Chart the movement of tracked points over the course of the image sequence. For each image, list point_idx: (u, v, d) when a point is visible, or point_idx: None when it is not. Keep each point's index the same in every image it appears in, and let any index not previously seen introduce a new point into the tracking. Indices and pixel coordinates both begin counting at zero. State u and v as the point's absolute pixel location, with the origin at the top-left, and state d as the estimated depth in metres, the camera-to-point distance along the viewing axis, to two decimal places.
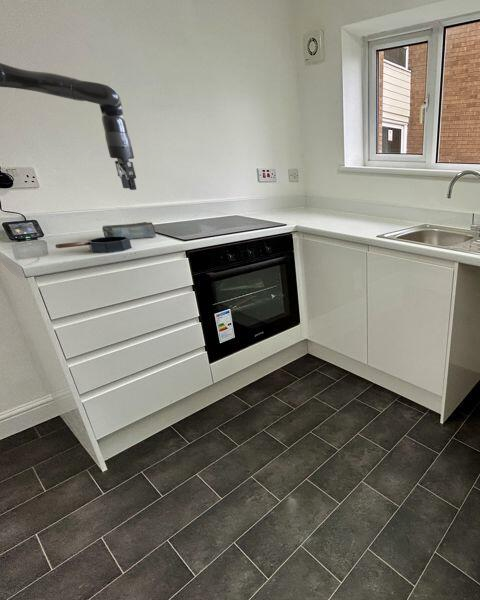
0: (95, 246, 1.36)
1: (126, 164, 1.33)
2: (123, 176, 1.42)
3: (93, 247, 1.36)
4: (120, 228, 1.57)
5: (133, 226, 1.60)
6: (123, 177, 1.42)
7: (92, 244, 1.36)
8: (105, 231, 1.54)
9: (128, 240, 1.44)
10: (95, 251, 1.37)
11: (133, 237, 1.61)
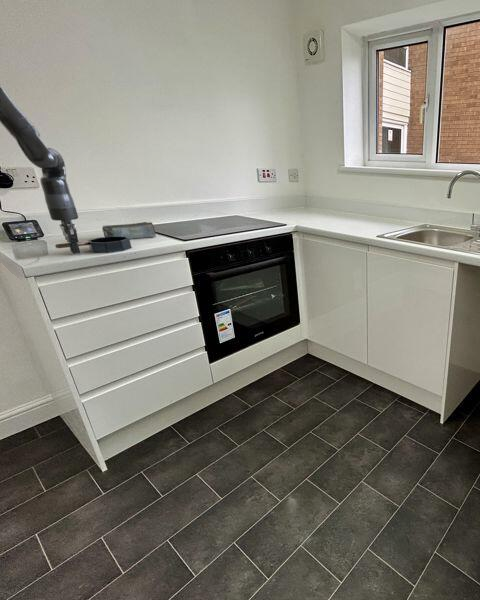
0: (95, 246, 1.36)
1: (69, 232, 1.28)
2: None
3: (93, 247, 1.36)
4: (120, 228, 1.57)
5: (133, 226, 1.60)
6: None
7: (92, 244, 1.36)
8: (105, 231, 1.54)
9: (128, 240, 1.44)
10: (95, 251, 1.37)
11: (133, 237, 1.61)
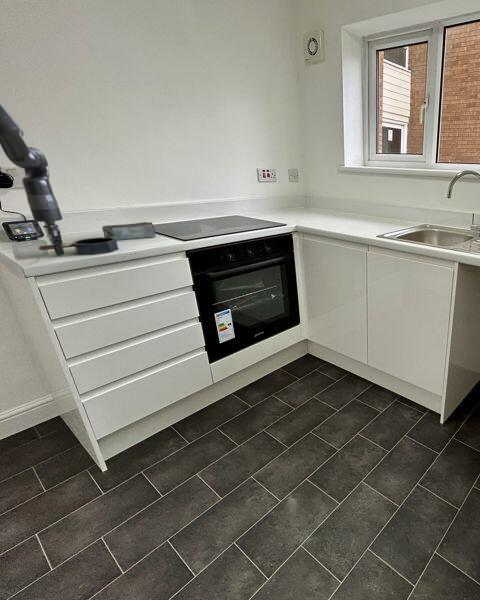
0: (80, 248, 1.33)
1: (52, 234, 1.24)
2: None
3: (78, 249, 1.33)
4: (120, 228, 1.57)
5: (133, 226, 1.60)
6: None
7: (77, 246, 1.33)
8: (105, 231, 1.54)
9: (115, 241, 1.41)
10: (80, 253, 1.34)
11: (133, 237, 1.61)
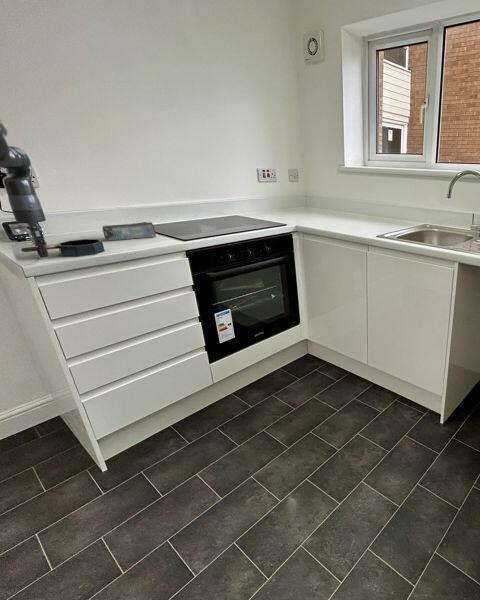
0: (64, 250, 1.30)
1: (34, 234, 1.21)
2: (37, 242, 1.28)
3: (62, 251, 1.30)
4: (120, 228, 1.57)
5: (133, 226, 1.60)
6: None
7: (61, 247, 1.29)
8: (105, 231, 1.54)
9: (101, 243, 1.38)
10: (65, 255, 1.30)
11: (133, 237, 1.61)
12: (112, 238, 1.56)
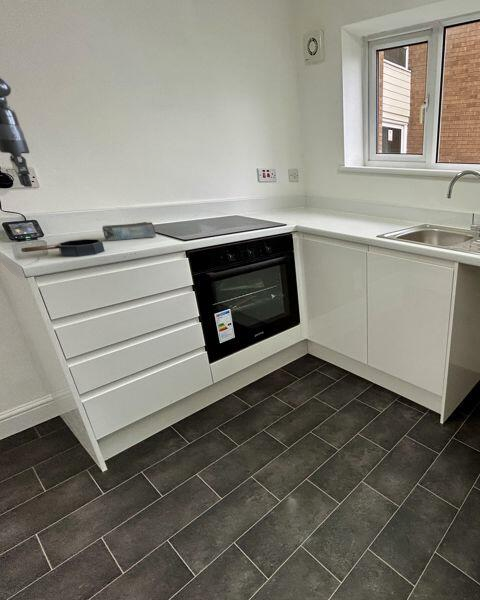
0: (64, 250, 1.30)
1: (16, 159, 1.23)
2: None
3: (62, 251, 1.30)
4: (120, 228, 1.57)
5: (133, 226, 1.60)
6: None
7: (61, 247, 1.29)
8: (105, 231, 1.54)
9: (101, 243, 1.38)
10: (65, 255, 1.30)
11: (133, 237, 1.61)
12: (112, 238, 1.56)
